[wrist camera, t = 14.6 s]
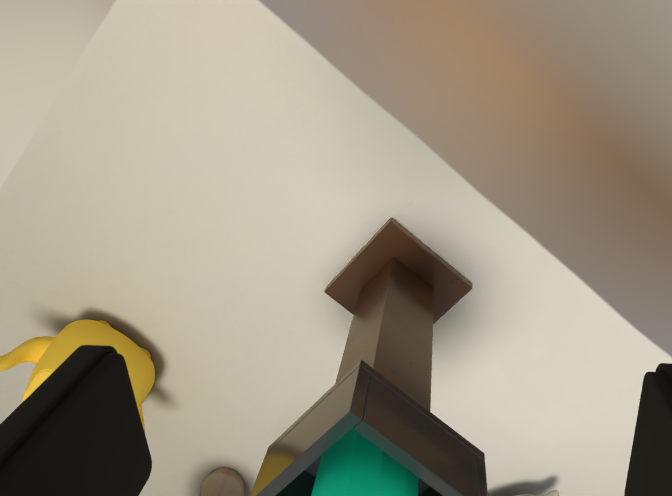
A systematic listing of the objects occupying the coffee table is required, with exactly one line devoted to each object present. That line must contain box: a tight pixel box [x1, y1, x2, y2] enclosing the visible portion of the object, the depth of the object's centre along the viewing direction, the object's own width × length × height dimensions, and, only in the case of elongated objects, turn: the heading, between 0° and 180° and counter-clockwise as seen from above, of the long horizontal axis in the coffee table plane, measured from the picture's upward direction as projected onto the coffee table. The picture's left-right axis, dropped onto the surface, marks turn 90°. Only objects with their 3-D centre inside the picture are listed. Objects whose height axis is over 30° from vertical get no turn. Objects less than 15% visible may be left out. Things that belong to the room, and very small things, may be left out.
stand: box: [325, 218, 472, 412], centre depth 46 cm, size 10×10×22 cm
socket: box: [250, 360, 488, 496], centre depth 34 cm, size 10×10×5 cm
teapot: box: [0, 320, 155, 433], centre depth 60 cm, size 18×11×11 cm, turn 53°
